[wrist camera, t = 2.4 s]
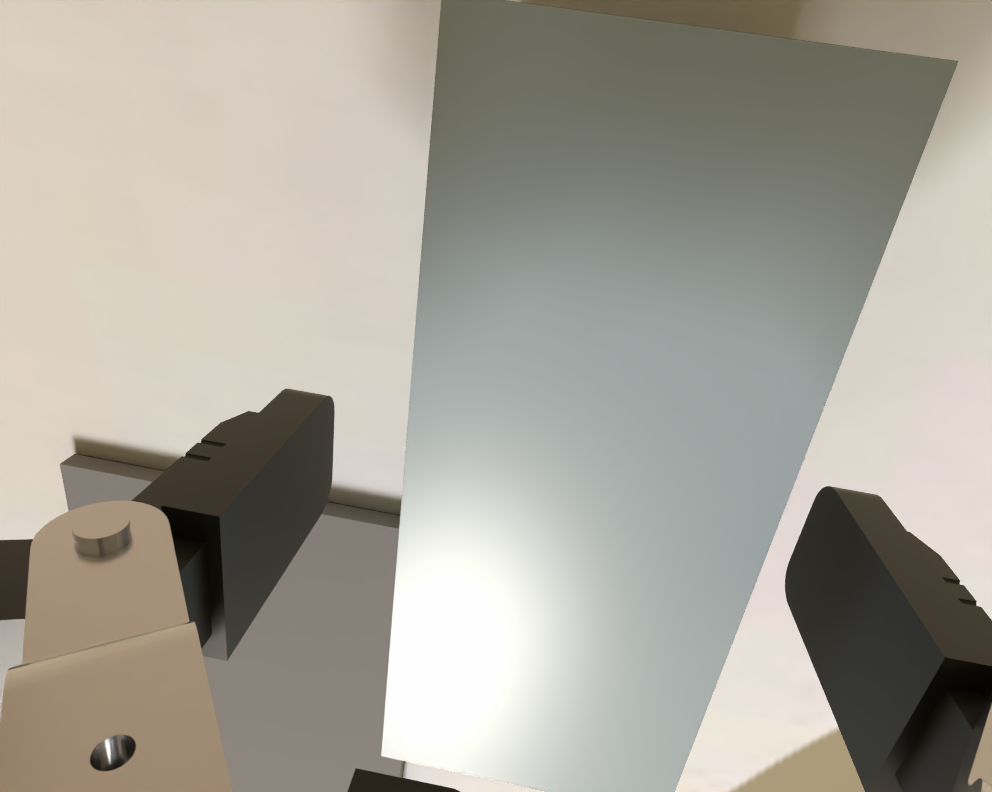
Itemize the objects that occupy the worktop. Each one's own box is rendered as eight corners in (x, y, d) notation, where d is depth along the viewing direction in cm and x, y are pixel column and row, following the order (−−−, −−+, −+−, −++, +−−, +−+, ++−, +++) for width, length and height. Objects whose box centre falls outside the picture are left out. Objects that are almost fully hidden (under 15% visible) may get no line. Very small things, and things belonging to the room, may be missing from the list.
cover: (511, 41, 14) (442, -8, 7) (783, 78, 13) (958, 61, 7) (450, 539, 19) (381, 755, 13) (640, 575, 19) (664, 817, 12)
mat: (74, 454, 20) (60, 464, 19) (428, 521, 19) (424, 533, 18) (127, 757, 26) (117, 771, 25) (398, 816, 25) (393, 832, 24)
